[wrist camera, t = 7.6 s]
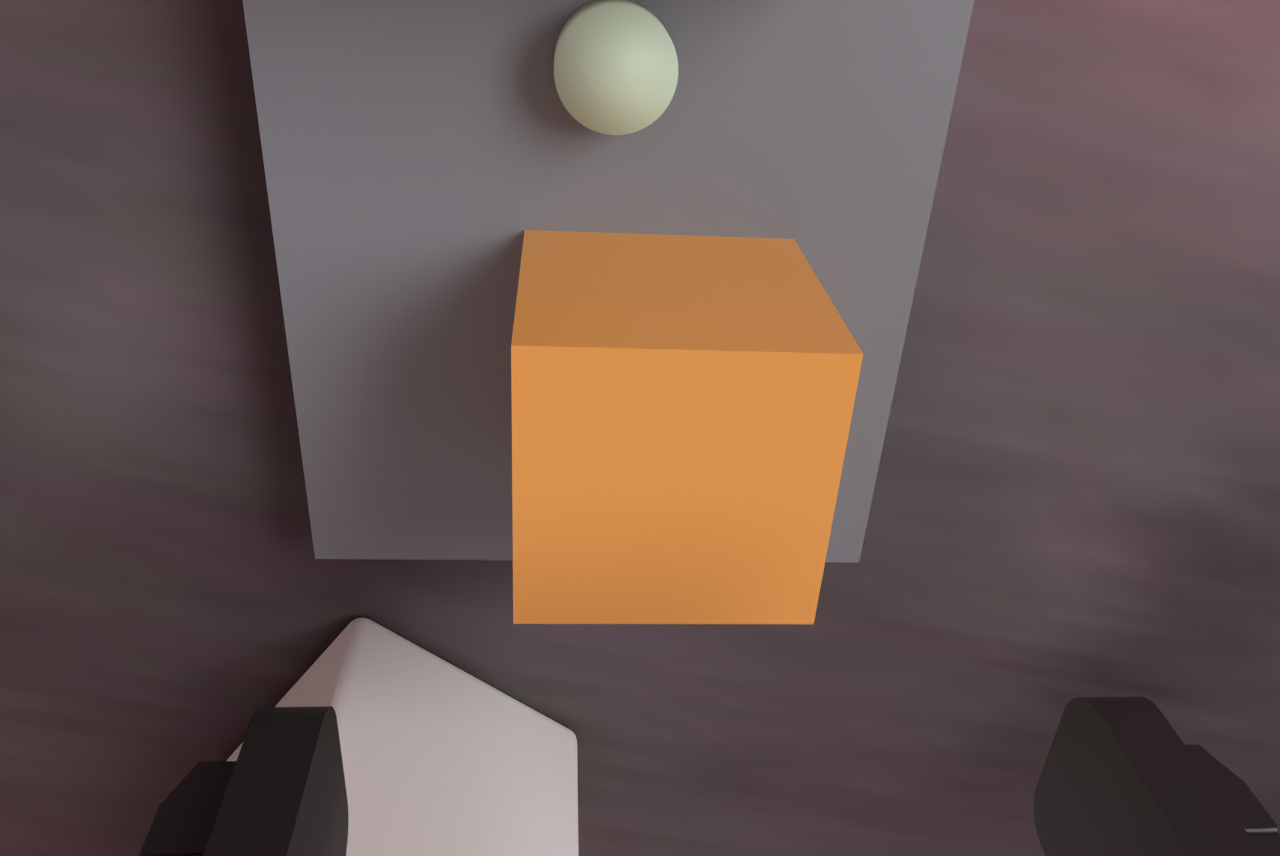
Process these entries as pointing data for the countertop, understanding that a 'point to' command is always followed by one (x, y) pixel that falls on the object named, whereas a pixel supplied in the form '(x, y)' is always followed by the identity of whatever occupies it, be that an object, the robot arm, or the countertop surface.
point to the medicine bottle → (439, 754)
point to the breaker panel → (566, 210)
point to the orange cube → (674, 429)
